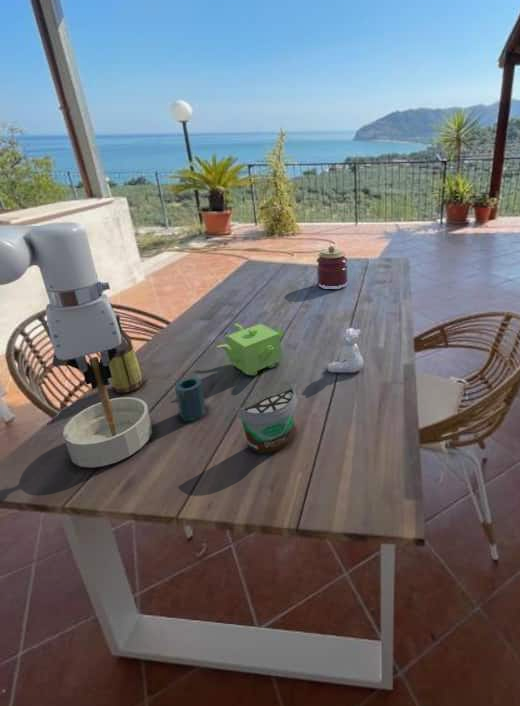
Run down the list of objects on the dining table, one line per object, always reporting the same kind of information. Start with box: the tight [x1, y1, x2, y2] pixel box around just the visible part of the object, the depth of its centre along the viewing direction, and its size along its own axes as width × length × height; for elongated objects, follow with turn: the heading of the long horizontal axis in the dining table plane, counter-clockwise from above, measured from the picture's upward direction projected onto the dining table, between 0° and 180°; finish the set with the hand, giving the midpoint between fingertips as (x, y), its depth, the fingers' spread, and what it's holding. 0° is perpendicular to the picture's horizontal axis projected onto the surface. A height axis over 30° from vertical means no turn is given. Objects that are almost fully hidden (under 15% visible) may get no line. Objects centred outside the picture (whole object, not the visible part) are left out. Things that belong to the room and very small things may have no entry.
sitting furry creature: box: [327, 327, 365, 374], centre depth 104 cm, size 10×9×12 cm
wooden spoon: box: [88, 356, 117, 437], centre depth 75 cm, size 1×3×17 cm, turn 36°
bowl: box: [62, 396, 153, 469], centre depth 78 cm, size 14×14×6 cm
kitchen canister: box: [316, 245, 348, 286], centre depth 166 cm, size 13×13×18 cm
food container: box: [236, 384, 298, 454], centre depth 77 cm, size 12×6×10 cm, turn 129°
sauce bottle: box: [109, 312, 143, 394], centre depth 94 cm, size 7×6×20 cm
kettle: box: [216, 322, 286, 377], centre depth 105 cm, size 15×14×11 cm
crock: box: [174, 376, 207, 423], centre depth 86 cm, size 5×5×8 cm
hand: (100, 383), depth 74 cm, fingers closed on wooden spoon, 1 cm apart
